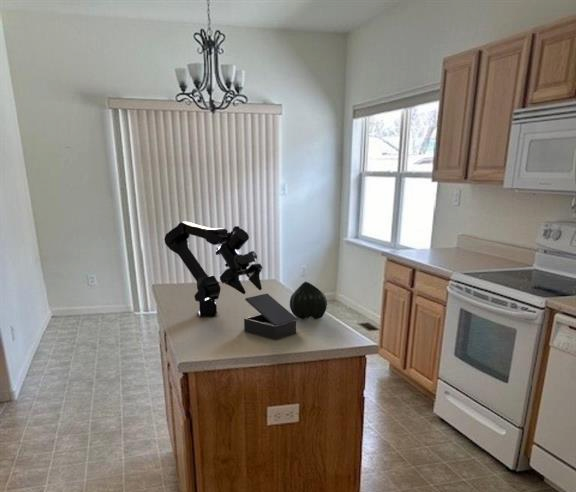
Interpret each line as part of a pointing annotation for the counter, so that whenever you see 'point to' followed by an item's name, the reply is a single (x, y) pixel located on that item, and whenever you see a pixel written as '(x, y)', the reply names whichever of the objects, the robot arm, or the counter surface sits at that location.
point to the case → (268, 327)
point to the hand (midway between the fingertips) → (253, 291)
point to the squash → (308, 302)
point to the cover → (271, 309)
